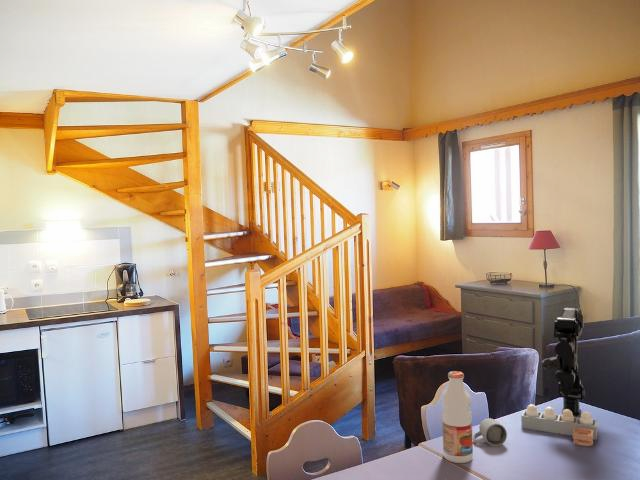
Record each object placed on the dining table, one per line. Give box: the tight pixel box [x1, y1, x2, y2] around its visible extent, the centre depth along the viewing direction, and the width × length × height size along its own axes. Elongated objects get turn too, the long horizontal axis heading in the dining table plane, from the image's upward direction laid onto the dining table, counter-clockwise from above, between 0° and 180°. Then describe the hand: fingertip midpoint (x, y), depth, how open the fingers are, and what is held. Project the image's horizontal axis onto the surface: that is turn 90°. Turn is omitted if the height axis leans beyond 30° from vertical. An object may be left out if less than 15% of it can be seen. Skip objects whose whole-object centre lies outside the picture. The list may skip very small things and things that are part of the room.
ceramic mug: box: [472, 417, 508, 447], centre depth 183 cm, size 11×8×8 cm
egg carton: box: [520, 403, 598, 440], centre depth 190 cm, size 7×25×8 cm, turn 60°
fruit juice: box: [441, 370, 474, 464], centre depth 171 cm, size 9×9×28 cm
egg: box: [543, 406, 556, 420], centre depth 192 cm, size 4×4×6 cm
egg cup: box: [572, 427, 594, 447], centre depth 179 cm, size 6×6×4 cm
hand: (567, 393), depth 194 cm, fingers open, 9 cm apart
